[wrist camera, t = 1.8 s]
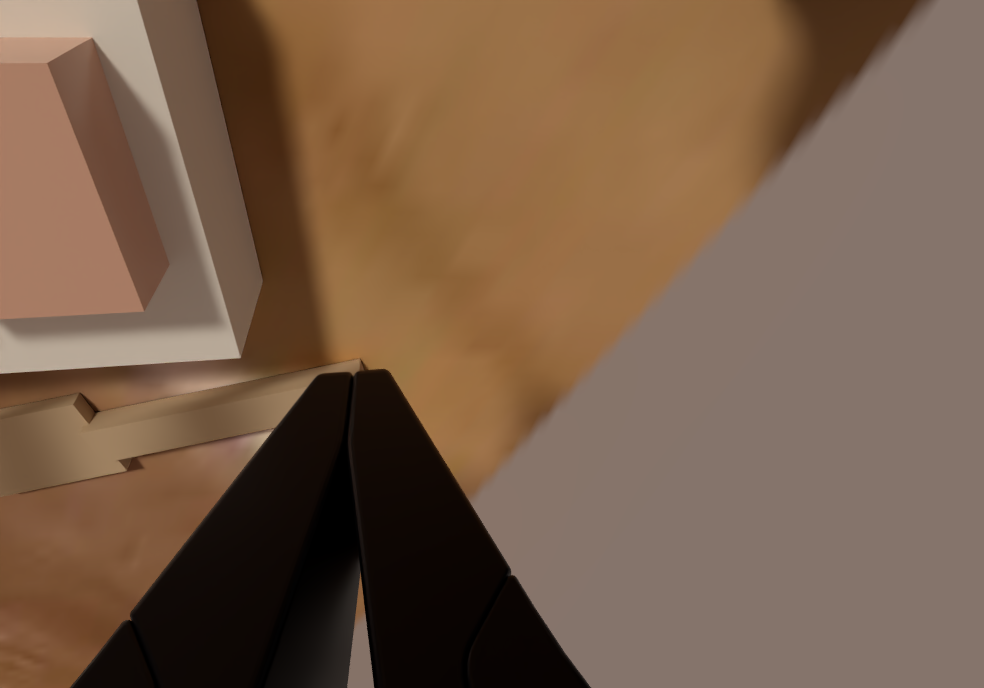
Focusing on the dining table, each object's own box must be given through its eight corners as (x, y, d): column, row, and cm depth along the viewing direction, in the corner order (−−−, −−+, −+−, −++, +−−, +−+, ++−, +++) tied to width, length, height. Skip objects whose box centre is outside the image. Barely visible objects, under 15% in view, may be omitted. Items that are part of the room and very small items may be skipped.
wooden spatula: (352, 337, 22) (351, 355, 21) (378, 408, 24) (378, 426, 23) (-62, 421, 21) (-79, 442, 20) (4, 485, 23) (-9, 506, 23)
